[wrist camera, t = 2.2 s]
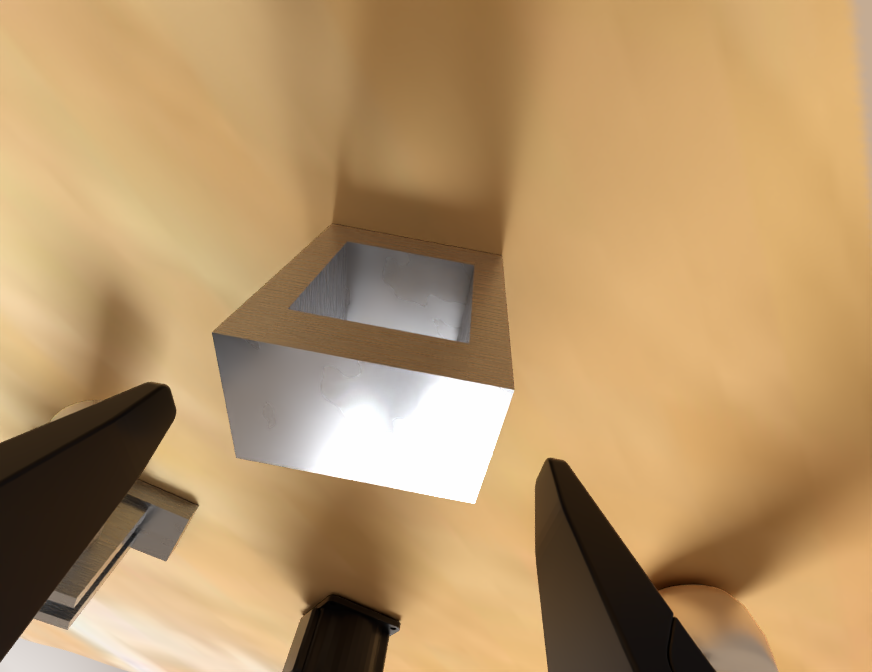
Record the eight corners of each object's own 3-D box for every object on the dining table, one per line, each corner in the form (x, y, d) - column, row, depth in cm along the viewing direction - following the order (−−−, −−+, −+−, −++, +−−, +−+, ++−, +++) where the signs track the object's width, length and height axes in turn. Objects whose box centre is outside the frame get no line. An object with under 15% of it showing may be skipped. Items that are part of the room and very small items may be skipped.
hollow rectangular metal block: (502, 255, 14) (514, 390, 8) (478, 343, 17) (474, 503, 10) (332, 223, 15) (211, 332, 8) (331, 315, 17) (235, 457, 10)
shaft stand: (245, 421, 21) (166, 532, 16) (175, 547, 29) (108, 647, 24) (48, 322, 19) (-120, 415, 13) (34, 490, 27) (-73, 586, 22)
